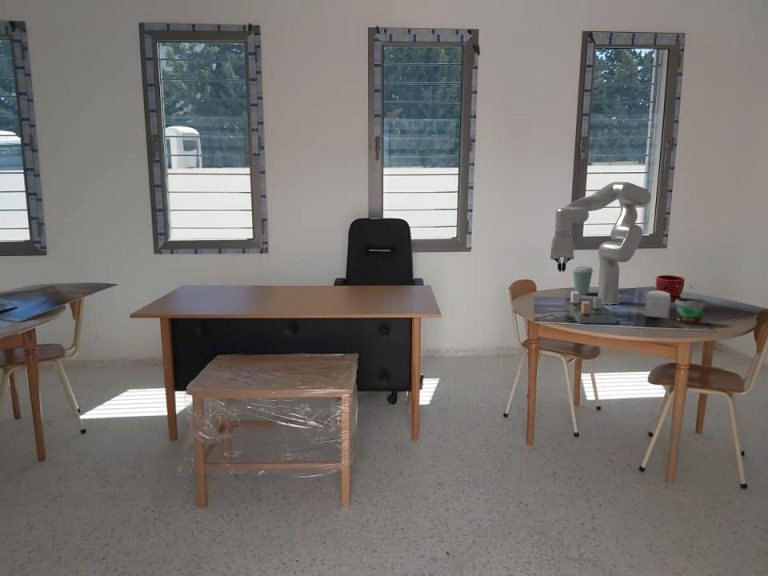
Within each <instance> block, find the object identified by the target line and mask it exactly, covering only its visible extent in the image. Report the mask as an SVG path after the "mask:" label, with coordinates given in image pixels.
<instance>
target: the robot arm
mask: <svg viewBox="0 0 768 576" xmlns="http://www.w3.org/2000/svg"><path fill="white" fill-rule="evenodd" d="M651 199H652V195H651V193H650V191H649V190H648V188H647V189H646V188H645V187H642V186H641V185H640V186H639V185H637V184H635V183H631V182H628V181H625V182H624V181H613V182H610V183H608V184H607V185H606V186H604V187H601V188H600V189H599V190H597V191H596V192H593V193H592V194H590V195H587V196H585V197H581V198H579V199H577V200H574V201H573V202H570V203H569V204H567V205H566V206H564V207H562V208H557V209H556V211H555V223H554V225H555V227H554V228H555V229H554V236H553V237H552V240H551V241H552V242H551V247H550V256H549V257H550V258H549V259H550V260H553V261H555V262H556V263H557V271H558V272H560V273H561V272H564V273H565V272H566V269H567V264H568V262H569V261H571V260H574V259H575V256H574V253H575V252H574V251H575V249H574V239H573V236H572V235H575V231H574V230H572V228H573V227H572V225H573V224H574V223H576V224H583V223H585V222H587V221H588V219H589V217H590V213H589V212H595V211H599V210H602V209H604V208H605V207H607V206H608V205H609V206H610V204H612V203H614V202H615V201H617V200H618V202H619V206H620V214H619V216H618V218H617V219H616V222H615V223H614V225H613V227H612V229H611V231H610V238H611V239H612V240H613V241H604V242H602V243H601V244H600V245H599V247H598V249H597V251H598V258H599V259H598V260H599V270H598V271H599V275H598V289H597V290H598V291H597V292H598V293H597V296H600V297H601V298H602V305H606V304H608V305H611V306H613V305H612V304H616V305H620V304H621V303H622V301H621V300H628V298H629V297H628V295H623V294H620V293H619V282H620V279H619V278H620V265H619V263H628V262H629V261H630V260H631V259H632V258H633V256H634V254H635V252H636V251H637V249H638V247H639V246H640V243H641V241H642V240H643V239H642V238H643V235H644V233H643V231H644V230H643V228H642V227H641V225H638V224H636V222H637V221H638V220H637V219H638V217H639V216H638V210H637V207H644V206H646V205H648V204H649V203H650V202H651ZM561 258H563V261H561ZM619 303H620V304H619Z"/></svg>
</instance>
